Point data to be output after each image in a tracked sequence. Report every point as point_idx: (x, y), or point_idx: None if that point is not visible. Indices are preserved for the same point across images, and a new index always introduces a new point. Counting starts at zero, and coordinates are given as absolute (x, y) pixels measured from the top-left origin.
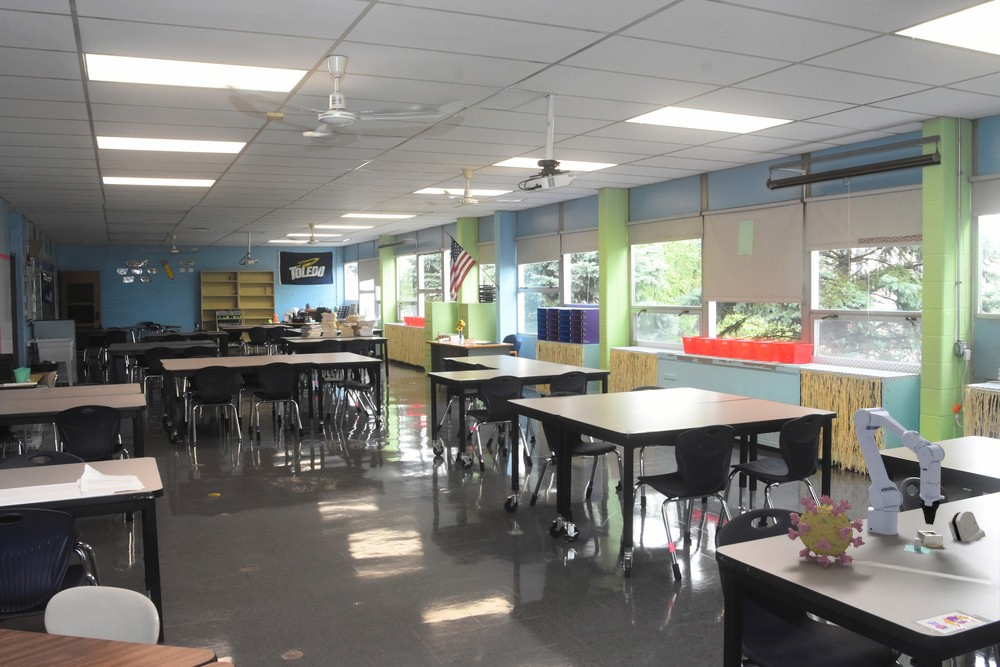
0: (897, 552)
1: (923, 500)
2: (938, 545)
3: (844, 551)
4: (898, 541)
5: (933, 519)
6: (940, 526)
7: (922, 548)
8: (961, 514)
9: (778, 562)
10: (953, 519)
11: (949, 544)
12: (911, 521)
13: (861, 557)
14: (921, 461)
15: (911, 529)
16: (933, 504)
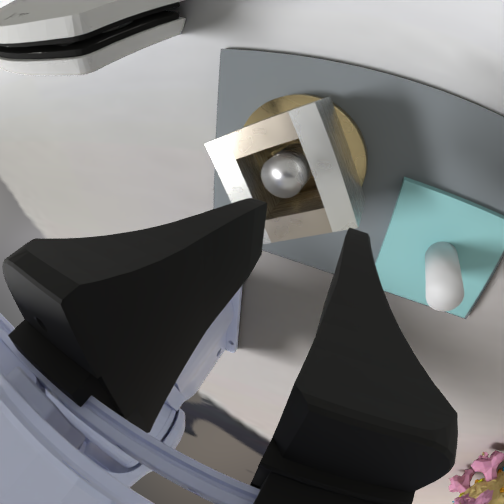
0: (447, 325)
1: (135, 423)
2: (353, 126)
3: (502, 460)
4: (275, 278)
5: (371, 267)
6: (35, 105)
7: (420, 226)
8: (15, 29)
9: None
10: (57, 54)
11: (218, 53)
12: (41, 182)
13: (492, 415)
14: None
15: (97, 193)
16: (350, 477)
